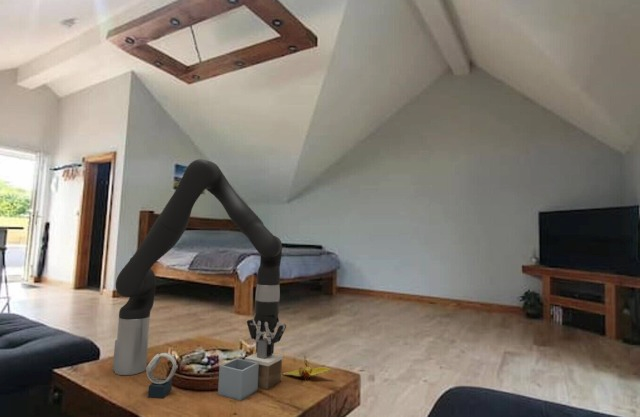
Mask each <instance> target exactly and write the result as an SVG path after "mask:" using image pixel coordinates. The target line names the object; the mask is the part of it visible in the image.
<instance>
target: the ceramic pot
mask: <svg viewBox="0 0 640 417" xmlns="http://www.w3.org/2000/svg"><path fill="white" fill-rule="evenodd" d="M258 370H259V363H256V362H252V361H247V360H245V359H242V358H235V359H232V360H230V361H228V362H224V363H223V364H221V365H219V370H218V371H219V372H218V386H217V396H218V395H219V396H220V397H221V396H222V397H225V398H229V399H233V400H237V401H239V402H240V401H241V402H242V401H243V400H244V399H246V398H248V397H249V396H251V395H253V394H254V393H257V392H258V389H259V388H258Z"/></svg>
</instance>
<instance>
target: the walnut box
mask: <svg viewBox="0 0 640 417" xmlns="http://www.w3.org/2000/svg"><path fill="white" fill-rule="evenodd" d="M282 363H283V359H281V360H279V361H278V362H276V363H274V364H272V365H270V366H265V365H260V364H259V370H258V389H262V390H264V391H265V390H266V391H268V390H270V389H271V388H272V387H274V386H276V385H277V384H279V383H281V381H282V369H283V368H282V367H283V366H282V365H283V364H282Z"/></svg>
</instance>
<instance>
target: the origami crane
mask: <svg viewBox="0 0 640 417" xmlns="http://www.w3.org/2000/svg"><path fill="white" fill-rule="evenodd" d="M303 359H304V365H305V368H304V367H303V366H300V367H299V368H298V369H296V370H291V371H286V372H283V373H282V375H285V376H293V377H300V378H302V377H304V378H303V380H305V381H309V378H310V377H312V376H316V375H318V374H322V373H327V372H331V371H333V369H332V368H328V367H325V366H320V367H319V366H318V367H314V368H311V367H310V366H309V364H310V363H309V362H308V360H307V357H306V354H303Z"/></svg>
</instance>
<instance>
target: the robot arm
mask: <svg viewBox="0 0 640 417" xmlns="http://www.w3.org/2000/svg"><path fill="white" fill-rule="evenodd" d="M205 190H207V191H208V192H209V193H210V194H211V195H213V196H214V197H215V198H216V199H217V200H218V201H219V203H221V206H222V207H223V209H224V210H225V212H226V214H227V215H228V217H229V218H230V220H231V221H232V223H234V225H235V226H236V227H237V228H238V230H239V231H241V233H242V234H243V236H245V237H246V238H247V239H248V240H249V242H250V243H251V244H252V246H253V247H254V248H255V250H256V251H257V253H259V254H260V262H259V267H258V269H257V279H256V288H255V301H254V302H255V303H254V314H255V315H254V317H253V318H252V319H251V318H250V319H247V320H246V324H247V329H248V331H249V336H250V338H251V340H255V342H256V343H255V353H257V344H258V341H259V340H261V339H264V338H265V337H264V336H266V337H267V340H268V344H267V356H271V355H272V354H273V353H274V351H275V350H274V349H275V344H276V343H279V342H280V341H281V339H282V337H283V335H284V333H285V330H286V328H287V325H286V324H285V323H282V322H280V319H279V314H280V299H281V298H280V297H281V294H280V293H281V292H280V290H281V289H280V278H281V277H280V276H281V270H280V269H281V261H282V254H283V244H282V241H281V239H280V238H279V237H277V236H276V235H274V234H273V233H272V232H271V231H270V230H269V229H268V228H267V227H266V226H265V224H264V222H263V221H262V219H261V218H260V217H259V216H258V215H257V213H255V211H254V210H252V208H251V207H250V206H249V205H248V204H247V203H246V202H245V201H244V200H243V198H242V197H241V196H239V194H238V193H237V192H236V191H235V189H234V188H233V187H232V185H231V183H229V181H228V180H227V178H226V176H225V175H224V173H223V171H222V170H221V168H220V167H219V166H218V164H216V163H215V162H212V161H210V160H206V159H201V158H198V159H195V160H194V161H192V162H190V163H189V164H188V166H187V167H186V168H185V171H184V172H183V174H182V177H181V179H180V181H179V183H178V185H177V187H176V188H175V190H174V193H173V194H172V196H171V197H170V199H169V200H168V202H167V203H166V205H165V207H164V208H163V209H162V211H161V212H160V214H159V215H158V217H157V218H156V220H155V222H154V223H153V224H152V226H151V228H150V229H149V231H148V233H147V234H146V236H145V238H144V239H143V241H142V242H141V244H140V245H139V247H138V249H137V250H136V252H134V254H133V255H132V257H131V258H130V259H129V260H128V262H126V264H125V266H124V267H123V268H122V269H121V271H120V272H119V273H118V275H117V277H116V279H115V290H116V293H117V294H118V295H119V296H120V297H124V298H128V300H127V301H126V303H125V304H124V305H123V306H121V307H120V309H119V312H118V322H117V337H116V340H115V341H114V347H113V348H114V349H113V350H114V351H113V365H112V371H114V373H115V375H121V376H132V375H137V374H141V373H143V372H145V371H147V370H146V368H147V359H148V347H149V345H148V344H149V332H150V320H151V319H150V318H151V311H152V308H153V306H154V303H155V293H156V286H157V280H156V279H157V278H156V274H155V272H154V270H153V269H151V268H152V267H153V266H154V265H155V264H156V262H157V261H159V260H160V259H161V258H162V257H164V256H165V255H166V254H167V253H168V252H169V251H171V249H173V248H174V247H175V246H176V245H177V243H178V242H179V241H180V239H181V238H182V236H183V234H184V232H185V231H186V230H187V227H188V225H189V222H190V218H191V214H192V210H193V207H194V205H195V204H196V202H197V200H198V199H199V197H200V196H201V195H202V193H203V192H204V191H205Z"/></svg>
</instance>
